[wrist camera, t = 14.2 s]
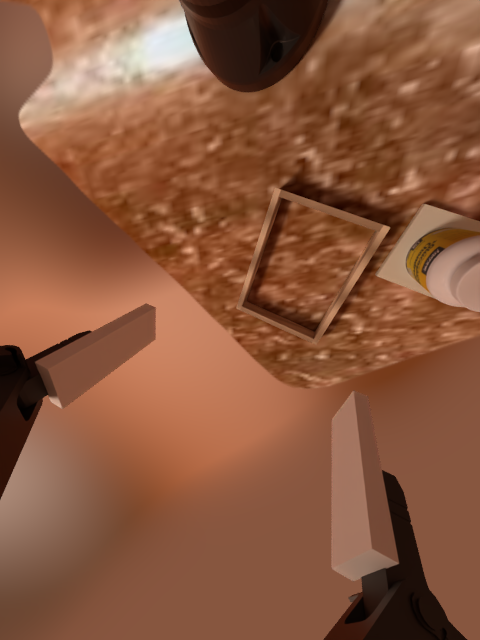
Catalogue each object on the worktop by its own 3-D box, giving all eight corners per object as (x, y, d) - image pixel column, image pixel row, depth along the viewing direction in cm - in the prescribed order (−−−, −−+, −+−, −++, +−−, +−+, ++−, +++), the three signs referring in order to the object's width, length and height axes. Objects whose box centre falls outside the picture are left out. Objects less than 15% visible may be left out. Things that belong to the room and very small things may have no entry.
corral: (279, 188, 30) (275, 187, 27) (386, 225, 27) (390, 227, 25) (241, 303, 39) (236, 308, 37) (317, 337, 37) (316, 345, 35)
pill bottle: (423, 221, 25) (480, 230, 15) (488, 234, 24) (595, 253, 14) (393, 274, 28) (424, 308, 19) (448, 288, 27) (513, 333, 17)
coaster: (422, 204, 25) (425, 203, 24) (507, 230, 24) (512, 231, 23) (375, 274, 30) (376, 276, 29) (443, 300, 28) (445, 302, 28)
